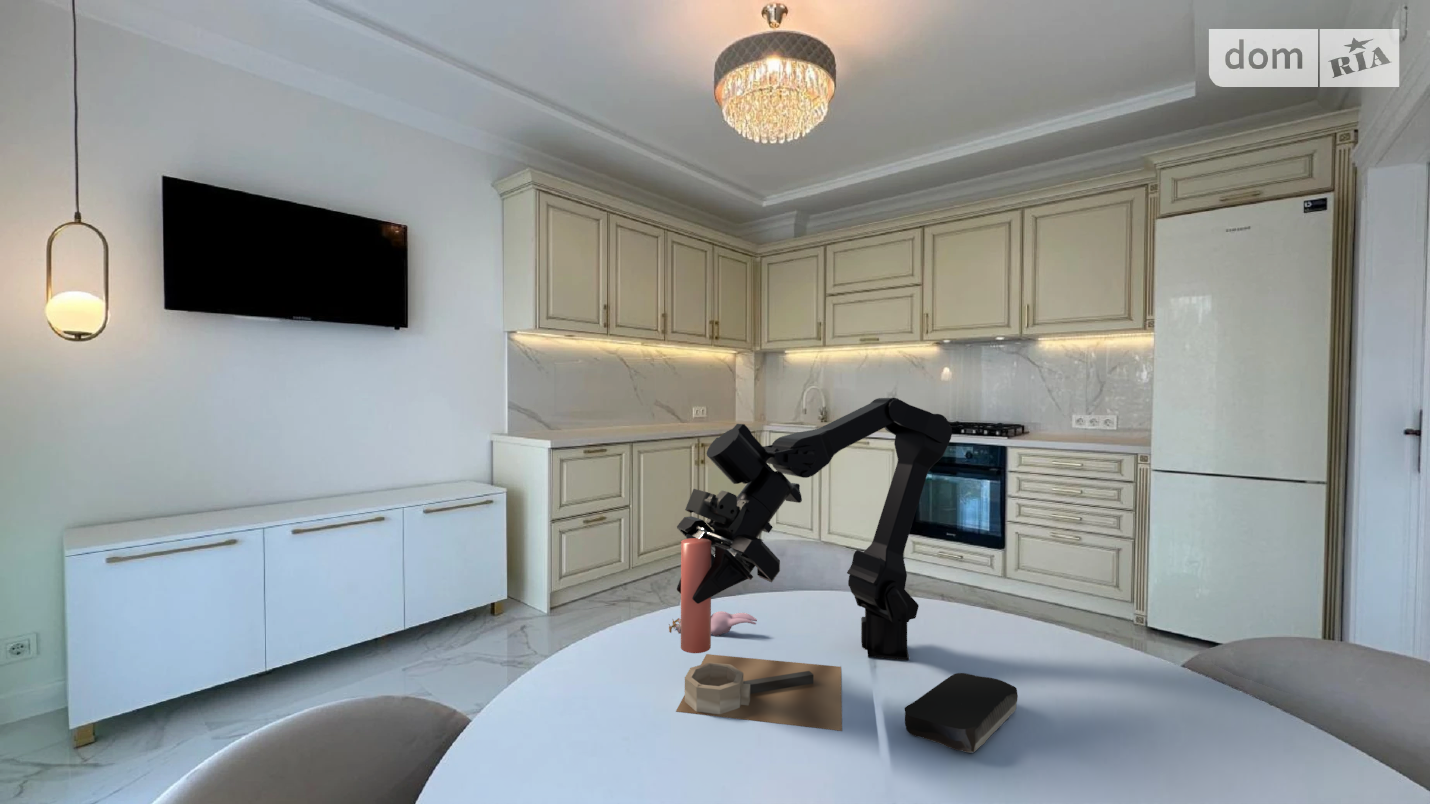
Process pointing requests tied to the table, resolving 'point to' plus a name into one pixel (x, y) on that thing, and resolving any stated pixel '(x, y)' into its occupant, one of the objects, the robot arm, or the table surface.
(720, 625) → the rabbit figure
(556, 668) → the table surface
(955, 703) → the black sponge
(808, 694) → the walnut board
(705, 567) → the red plug
